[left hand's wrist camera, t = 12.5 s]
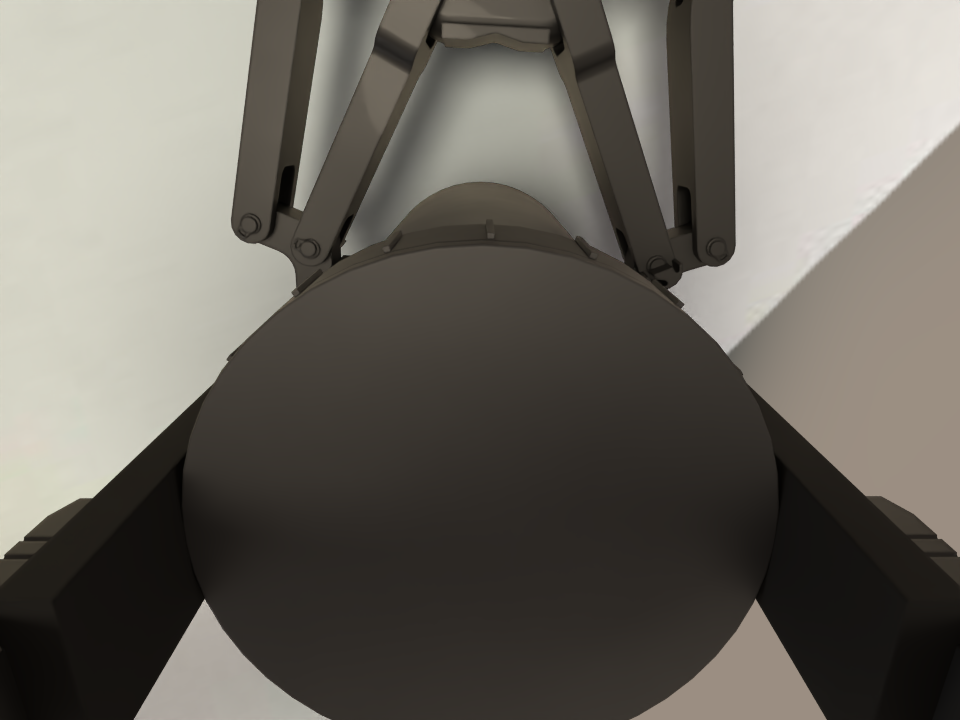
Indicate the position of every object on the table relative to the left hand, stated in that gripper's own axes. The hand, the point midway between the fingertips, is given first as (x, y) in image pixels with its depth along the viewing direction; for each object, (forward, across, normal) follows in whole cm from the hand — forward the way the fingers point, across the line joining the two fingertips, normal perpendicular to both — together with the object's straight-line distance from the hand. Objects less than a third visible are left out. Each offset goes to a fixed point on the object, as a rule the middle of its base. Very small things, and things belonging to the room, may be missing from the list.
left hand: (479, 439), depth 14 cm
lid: (-3, 0, 0) cm, 3 cm away
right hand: (+9, 0, -5) cm, 10 cm away
